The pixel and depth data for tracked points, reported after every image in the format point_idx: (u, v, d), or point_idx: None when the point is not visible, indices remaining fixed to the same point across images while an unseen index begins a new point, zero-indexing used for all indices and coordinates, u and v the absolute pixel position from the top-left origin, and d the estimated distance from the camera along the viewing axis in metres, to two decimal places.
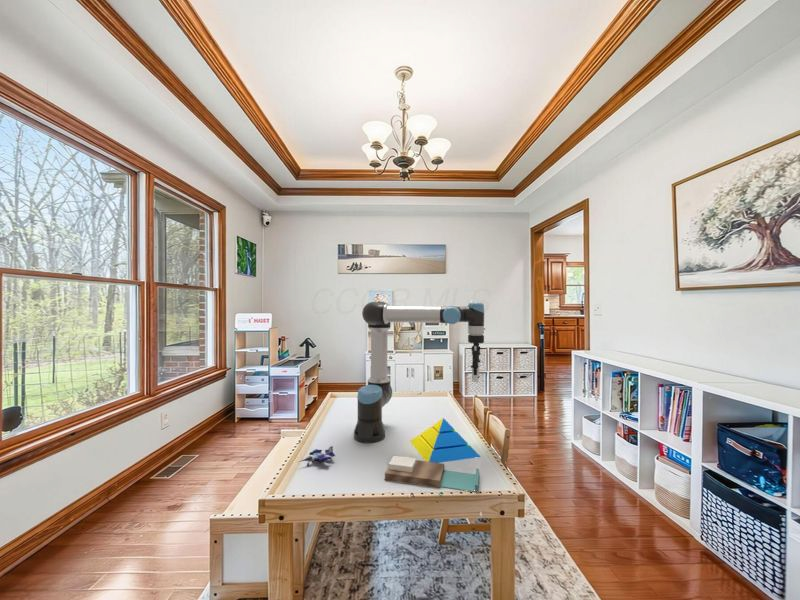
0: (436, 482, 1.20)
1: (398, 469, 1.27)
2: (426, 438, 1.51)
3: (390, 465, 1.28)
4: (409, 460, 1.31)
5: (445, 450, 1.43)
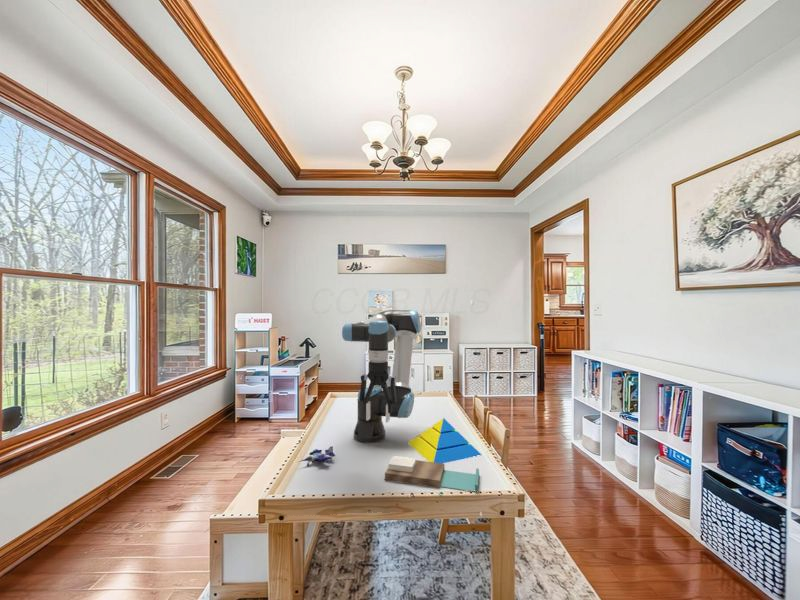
0: (436, 482, 1.20)
1: (398, 469, 1.27)
2: (427, 439, 1.50)
3: (390, 465, 1.28)
4: (409, 460, 1.31)
5: (448, 450, 1.43)
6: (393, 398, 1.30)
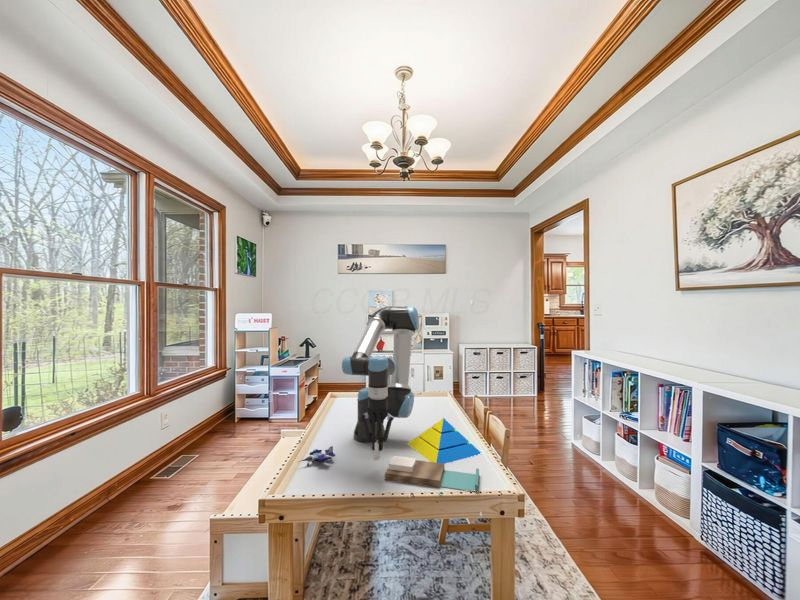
0: (436, 482, 1.20)
1: (398, 469, 1.27)
2: (427, 439, 1.50)
3: (390, 465, 1.28)
4: (409, 460, 1.31)
5: (450, 450, 1.43)
6: (385, 436, 1.31)
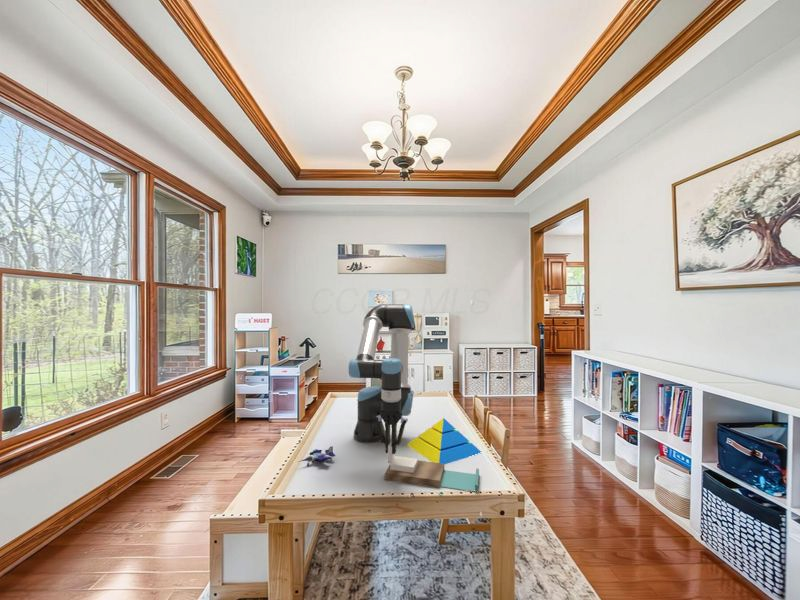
0: (436, 482, 1.20)
1: (399, 469, 1.27)
2: (428, 440, 1.49)
3: (391, 465, 1.28)
4: (411, 460, 1.31)
5: (451, 450, 1.43)
6: (398, 439, 1.29)
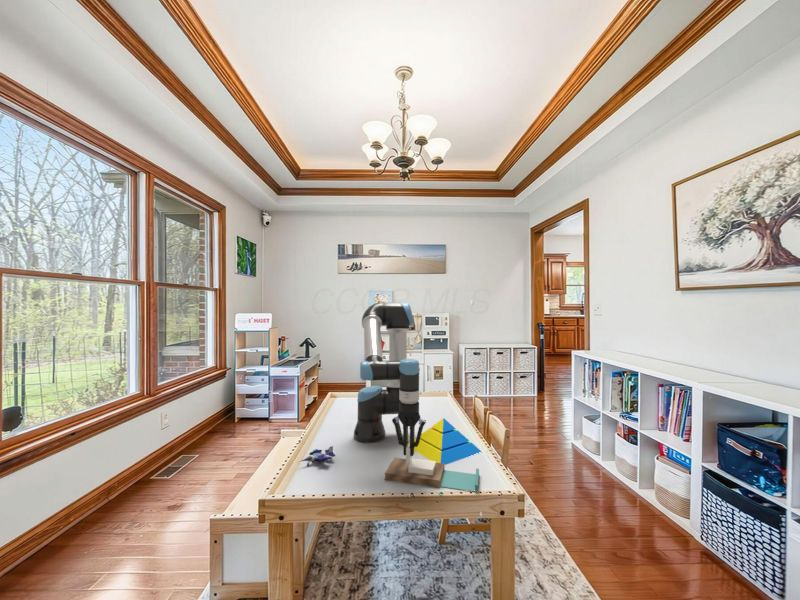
0: (436, 482, 1.20)
1: (418, 472, 1.25)
2: (428, 440, 1.49)
3: (410, 468, 1.26)
4: (429, 463, 1.29)
5: (452, 450, 1.43)
6: (417, 441, 1.27)
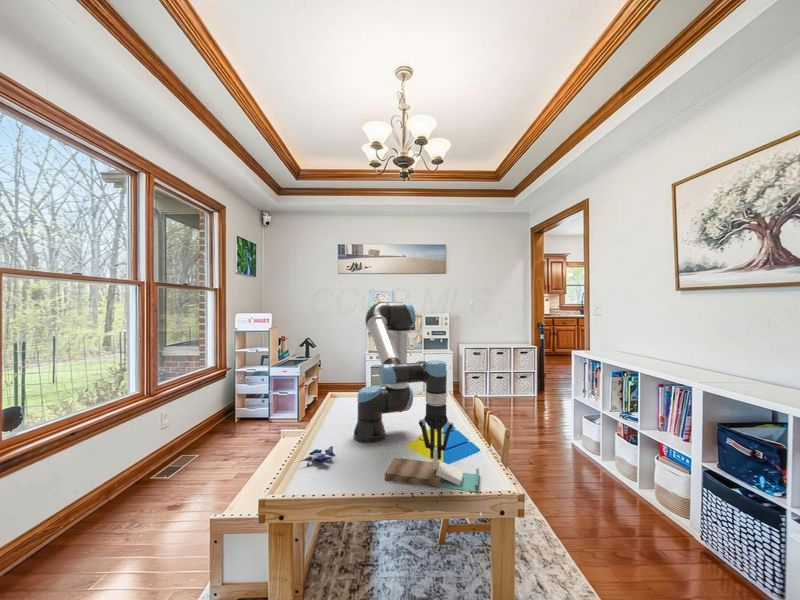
0: (436, 482, 1.20)
1: (446, 478, 1.22)
2: (429, 440, 1.49)
3: (438, 471, 1.23)
4: (457, 471, 1.26)
5: (453, 450, 1.43)
6: (444, 444, 1.25)
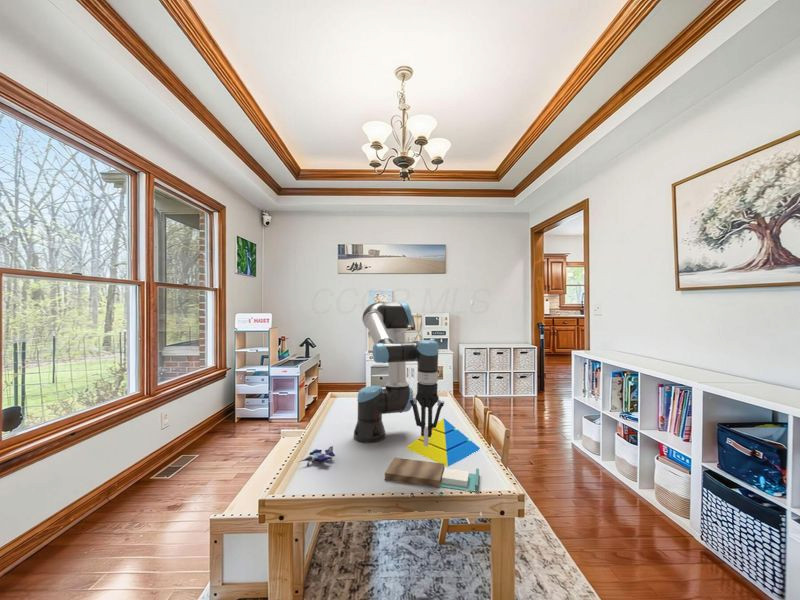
0: (436, 482, 1.20)
1: (452, 483, 1.22)
2: (430, 441, 1.48)
3: (443, 479, 1.23)
4: (462, 473, 1.25)
5: (456, 449, 1.44)
6: (435, 422, 1.26)
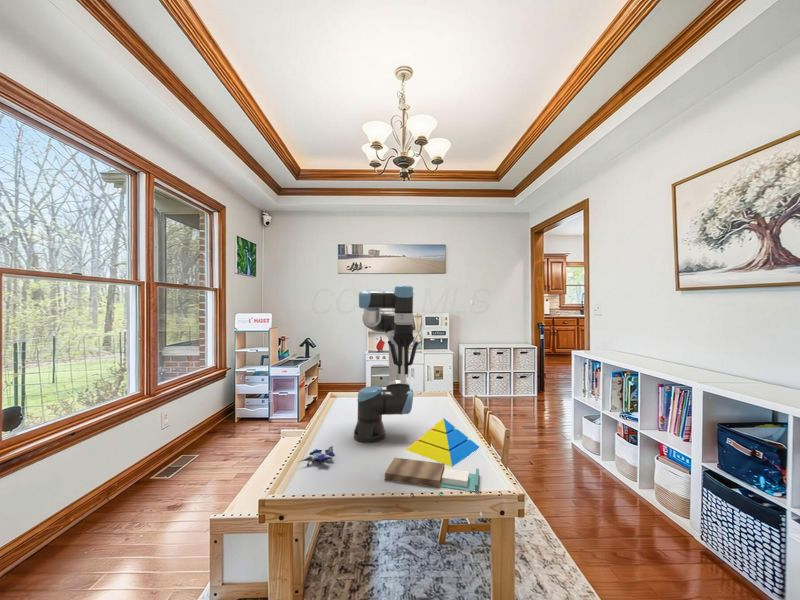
0: (436, 482, 1.20)
1: (452, 483, 1.22)
2: (431, 442, 1.47)
3: (443, 479, 1.23)
4: (462, 473, 1.25)
5: (457, 449, 1.44)
6: (411, 360, 1.37)
